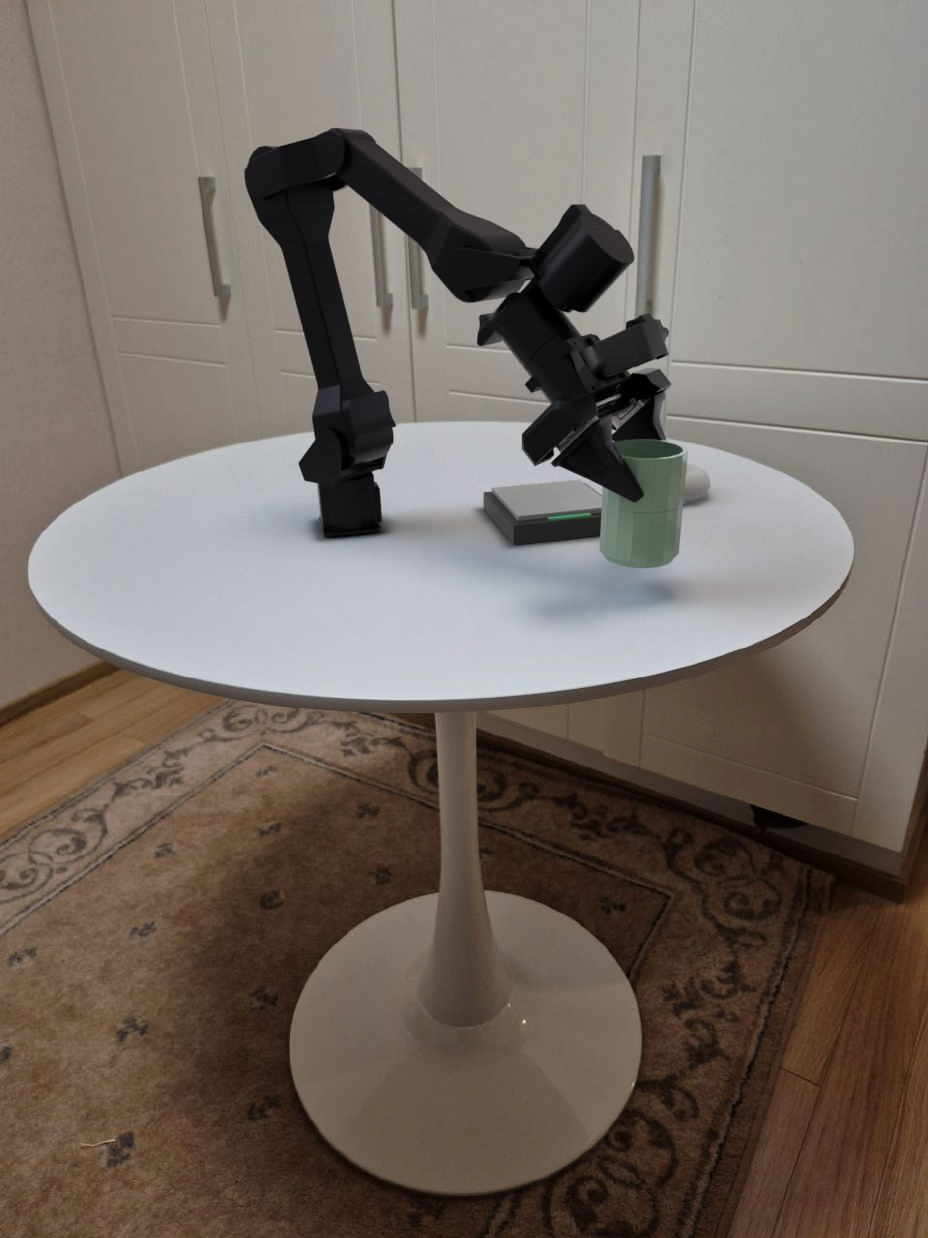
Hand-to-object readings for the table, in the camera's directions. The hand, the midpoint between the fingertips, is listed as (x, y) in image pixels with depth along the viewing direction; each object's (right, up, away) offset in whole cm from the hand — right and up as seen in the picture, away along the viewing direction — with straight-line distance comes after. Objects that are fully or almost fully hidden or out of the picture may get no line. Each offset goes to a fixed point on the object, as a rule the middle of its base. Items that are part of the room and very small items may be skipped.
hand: (657, 488), depth 76 cm
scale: (-7, 0, +24) cm, 25 cm away
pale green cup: (-1, -6, +4) cm, 7 cm away
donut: (+9, +4, +32) cm, 33 cm away
